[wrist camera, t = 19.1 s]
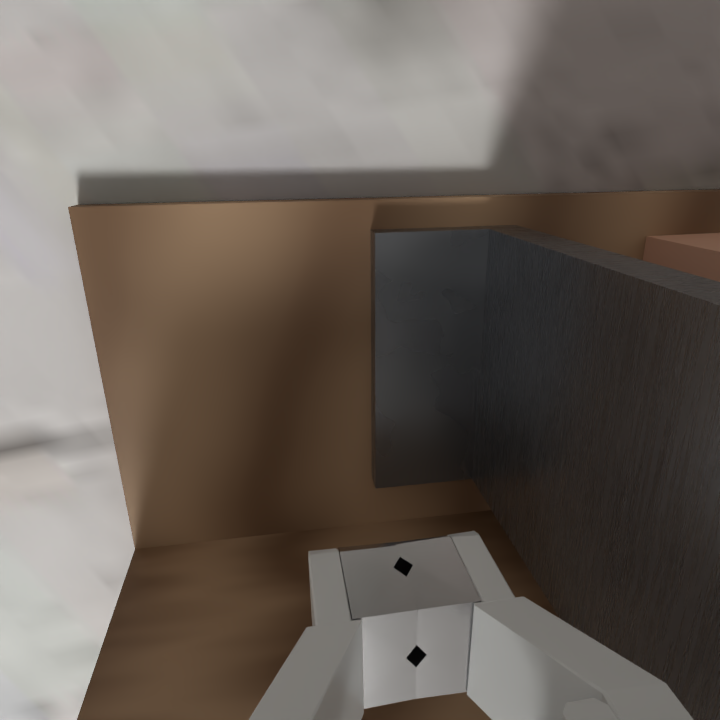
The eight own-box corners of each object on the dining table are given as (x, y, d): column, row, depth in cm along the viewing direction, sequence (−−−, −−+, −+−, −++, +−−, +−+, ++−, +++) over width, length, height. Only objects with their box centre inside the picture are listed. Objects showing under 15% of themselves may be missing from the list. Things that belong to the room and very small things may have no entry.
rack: (855, 185, 20) (1441, 216, 10) (764, 490, 25) (1101, 718, 15) (77, 204, 16) (-233, 283, 6) (144, 560, 21) (30, 932, 11)
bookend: (515, 224, 18) (932, 340, 7) (494, 464, 21) (751, 815, 10) (370, 229, 17) (560, 369, 6) (371, 476, 20) (496, 868, 9)
